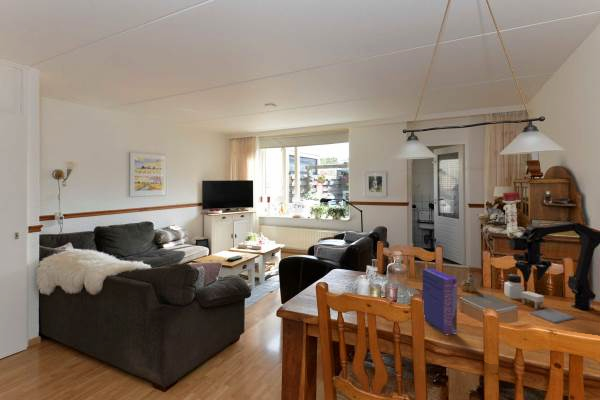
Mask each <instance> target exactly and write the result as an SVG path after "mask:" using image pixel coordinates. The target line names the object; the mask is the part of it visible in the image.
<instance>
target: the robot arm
mask: <svg viewBox="0 0 600 400" xmlns="http://www.w3.org/2000/svg"><path fill="white" fill-rule="evenodd" d="M566 232H574V234H577V236H579V237H578V238H579V244H580V252H579V255H578V260H577V264H576V269H575V273H574V274H573V275H572V276H571V275H569V276H568V280H567V282H566V284H567V287H568V288H569V289H570V291H571V293H572V294H574V295H575V297H574V304H572V305H571V307H573V308H576V309H579V310H581V311H585V312H587V311H591V310H594V309H595V308H594V307H592V306H591V300H595V299H596V297H597V294H595V293H594V292H593V291H592V290H591V283H590V280H589V274H590V270H591V265H592V262H593V257H594V256H593V255H594V253H595V250H596V249H597V248H598V247H599V245H600V232H599V231H596V230H593V229H591V228H590V227H587V226H585V225H584V224H581V223H580V222H578V221H570V222H564V223H559V224H551V225H528V226H526V228H525V230H524V232H523V233H522V234H521V235H520V236H519V237H517V236H511V239H510V240H509V243H508V244H509V249H510V250H511V251H522V252H523V254H519V253H514V254H513V260H514V261H516V262H515V263H514V267H515V268H516V269H517V270H519V271H520V272H521V275H522V277H523V280H524V282H525V283H528V282H529V279H530V277H531V273H532V271H533V270H532V268H533V267H535V268H536V274H537V275H536V276H537V277H536V278H537V280H538V281H540V280H541V279H542V278H543V277H544V275H545V274H546V272H547V271H548V269H550V267H552V262H551V261H550V260H548V259H543V258H541V256H543V254H544V253H542V252H541V251H542V250H541V249H542V244H543V243H547V240H545V239H544V237H547V236H549V235H553V234H559V233H566Z"/></svg>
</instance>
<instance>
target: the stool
mask: <svg viewBox="0 0 600 400" xmlns="http://www.w3.org/2000/svg"><path fill="white" fill-rule="evenodd" d="M521 297H522V299H521V304H522V305H526V303H527V304H530V303H531V301H532V302H534V306H533V307H534V309H536V310H537V309H539V308H541V309H544V308H543V306H544V305H543V304H544V301H545V295H543V294H538V293H536V292H532V291H529V290H526V291H525V290H524V292H521Z"/></svg>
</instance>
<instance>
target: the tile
mask: <svg viewBox="0 0 600 400" xmlns="http://www.w3.org/2000/svg"><path fill="white" fill-rule="evenodd" d="M529 314H530V315H532V316H534V317H538V318H540V319H543V320H546V321H548V322H551V323H553V324H557V323H561V322H565V321H569V320H573V319H574V320H575V319H576V317H575V316H573V315H570V314H568V313H564V312H561V311H559V310H557V309H553V308H545V309H544V308H543V309H539V310H534V311H530V312H529Z"/></svg>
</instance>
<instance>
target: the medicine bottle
mask: <svg viewBox="0 0 600 400" xmlns="http://www.w3.org/2000/svg"><path fill="white" fill-rule="evenodd" d="M503 286H504V287H503V288H504V289H503V290H504V295H505V296H506V297H507V298H508V299H511V300H522V297H521V292H525V286H523V285H522V277H521V276H520V275H516V274H508V275H507V281H504V285H503Z"/></svg>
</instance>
